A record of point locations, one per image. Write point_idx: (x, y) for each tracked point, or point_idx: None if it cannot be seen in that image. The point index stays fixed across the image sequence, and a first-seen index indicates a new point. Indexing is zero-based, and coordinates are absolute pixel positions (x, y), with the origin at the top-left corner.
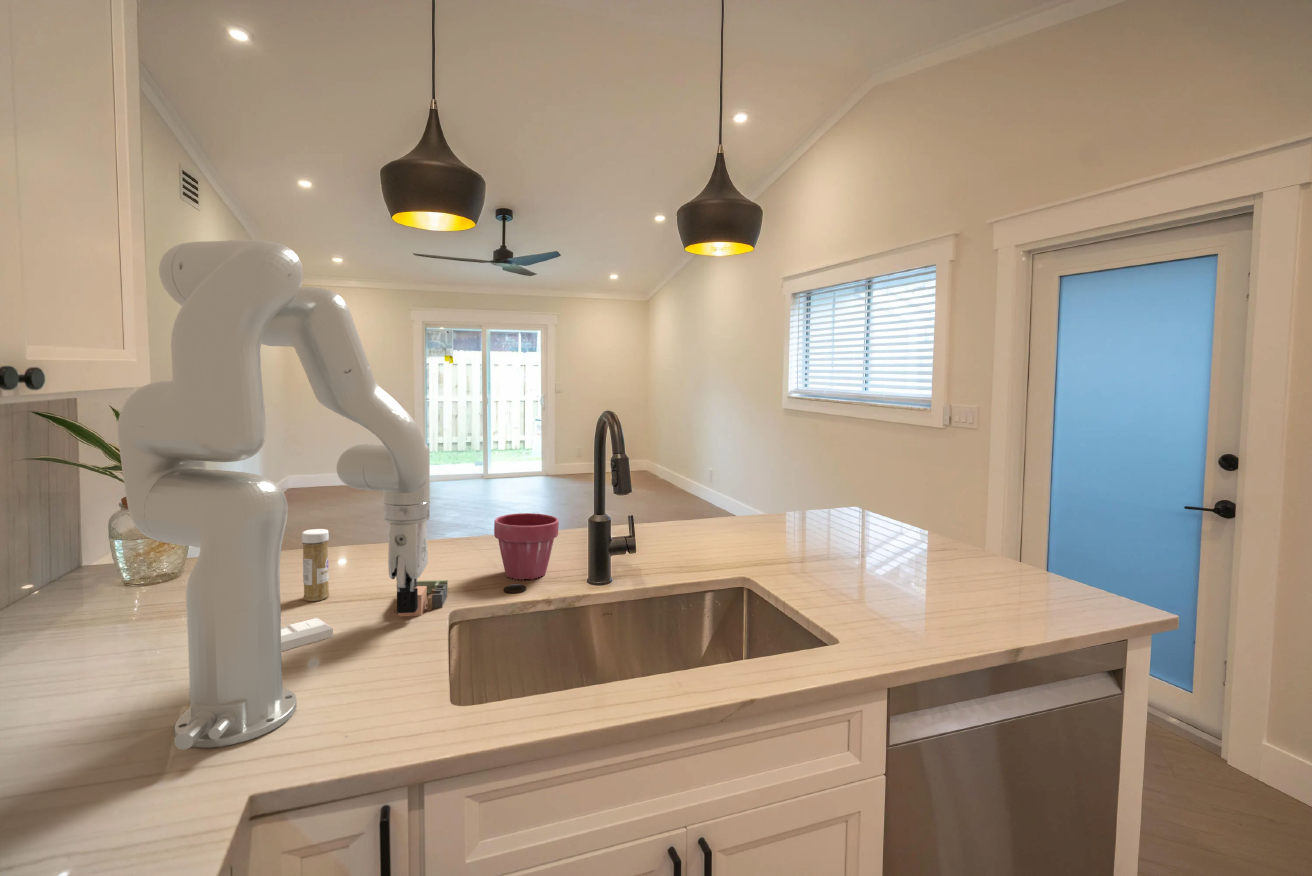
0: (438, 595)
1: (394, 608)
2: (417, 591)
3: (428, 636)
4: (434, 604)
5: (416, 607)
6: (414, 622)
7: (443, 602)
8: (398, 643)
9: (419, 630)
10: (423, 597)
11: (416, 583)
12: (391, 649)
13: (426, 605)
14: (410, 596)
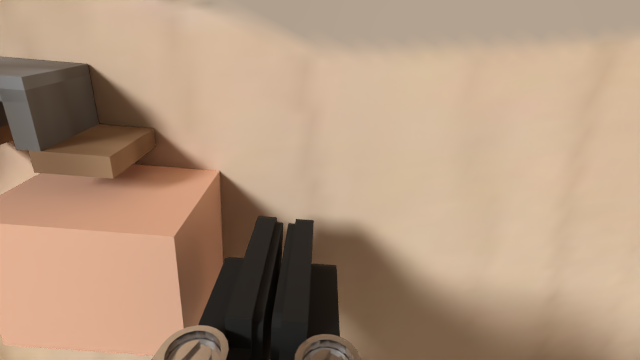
0: (34, 106)
1: None
2: (238, 294)
3: (536, 105)
4: (86, 117)
5: (270, 224)
6: (316, 193)
7: (28, 61)
8: (561, 232)
9: (433, 159)
10: (117, 206)
11: (183, 356)
12: (615, 250)
13: None
14: (329, 322)
